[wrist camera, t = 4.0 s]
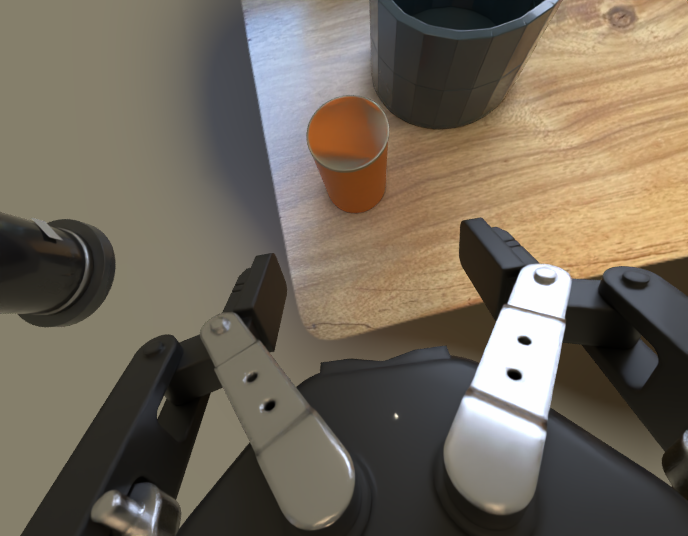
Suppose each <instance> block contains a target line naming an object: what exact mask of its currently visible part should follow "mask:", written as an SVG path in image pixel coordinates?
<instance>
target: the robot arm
mask: <svg viewBox="0 0 688 536" xmlns="http://www.w3.org/2000/svg"><path fill="white" fill-rule="evenodd" d="M32 219H33V220H34V221H35V222H34V221H31V220H27V219H24V218H20V217H17V216H13V215H9V214H5V213H2V212H0V314H2V313H3V314H6V313H7V314H9V313H10V314H11V313H12V314H34V315H53V314H57V313H60V312H63V311H65V310H67V309H68V308H70V307H71V306H73V305H74V304H75V303H76V302H77V301H78V300H79V299H80V298H81V297H82V295H83V294H84V293H85V291H86V289H87V287H88V285H89V283H90V280H91V277H92V273H93V255H92V251H91V249H90V246H89V244H88V243H87V241H86V240H85V239H84V238H83V237H82V236H80V235H79V234H77V233H75V232H73V231H69V230H66V229H62V228H55V227H52V226H49V225H48V224H47V223H46V222H45V221H41V220H38V219H35V218H32ZM459 258H460V262H461V265H462V267H463V269H464V271H465V272H466V274H467V276H468V277H469V279H470V280H471V282H472V284H473V285H474V287H475V289H476V290H477V292H478V293H479V295H480V297H481V298H482V300H483V302H484V303H485V305H486V306H487V308H488V310H489V311H490V313H491V314H492V316H493V318H494V319H495V321H497V322H496V324H495V327H494V329H493V332H492V334H491V337H490V339H489V342H488V344H487V346H486V349H485V351H484V354H483V357H482V359H481V361H480V363H478V362H476V361H473V360H470V359H467V358H463V357H458V356H451V355H450V354H449V352H448V349H447V346H440V347H432V348H425V349H417V350H413V351H410V352H408V353H405V354H402V355H399V356H397V357H394V358H391V359H389V360H386V361H373V360H361V359H344V360H337V361H329V362H323V363H321V367H320V373H318V374H316V375H314V376H312V377H310V378H308V379H306V380H305V381H303V382H302V383H301V384H300V385H298V386H297V387H295V386H294V384H293V383H292V382H291V380H290V379H289V378H288V376H287V375H286V374H285V372H284V371H283V370H282V368H281V367H280V366H279V365H278V363H277V362H276V361H275V359H274V358H273V357H272V355H271V354H270V353H269V352H274V350H275V346H276V341H277V336H278V332H279V328H280V323H281V318H282V314H283V309H284V304H285V300H286V296H287V286H286V281H285V279H284V276H283V273H282V271H281V268H280V266H279V263H278V261H277V258H276V256H275V254H274V253H270V254H264V255H259V256H256V257H255V259H254V262H253V264H252V266H251V268H248V269H246V270H245V271H244V272H243V273H242V274H241V275H240V276H239V277H238V280H237V282H236V284H235V286H234V288H233V290H232V293H231V295H230V297H229V299H228V301H227V304H226V306H225V308H224V310H223V312H222V313H221V314H218V315H216V316H214V317H212V318H211V319H210V320H208V321H207V322H206V323H205V324H204V325H203V327H202V328H201V330H200V335H197V336H195V337H192V338H190V339H187V340H184V341H182V342H180V343H179V342H178V341H177V339H176V338H175V337H174V336H173V335H161V336H158V337H156V338H154V339H152V340H150V341H148V342H147V343H146V344H144V345H143V346H142V347H141V348H140V349H139V350H138V351H137V352H136V354H135V355H134V357H133V359H132V360H131V362H130V363H129V365H128V366H127V368H126V370H125V371H124V373H123V374H122V376H121V377H120V379H119V381H118V382H117V384H116V385H115V387H114V388H113V390H112V392H111V393H110V395H109V396H108V398H107V399H106V401H105V403H104V404H103V406H102V407H101V409H100V411H99V412H98V414H97V415H96V417H95V418H94V420H93V422H92V423H91V425H90V426H89V428H88V430H87V431H86V433H85V434H84V436H83V438H82V439H81V441H80V442H79V444H78V445H77V447H76V449H75V450H74V452H73V454H72V455H71V456H70V458H69V460H68V461H67V463H66V464H65V466H64V467H63V469H62V471H61V472H60V474H59V475H58V477H57V479H56V480H55V482H54V483H53V485H52V486H51V488H50V490H49V491H48V493H47V494H46V496H45V498H44V499H43V501H42V502H41V504H40V505H39V507H38V509H37V510H36V512H35V513H34V515H33V517H32V518H31V520H30V521H29V523H28V524H27V526H26V528H25V529H24V531H23V533H22V534H21V535H20V536H688V296H686V295H685V294H683V293H682V292H680V291H679V290H678V289H676V288H675V287H674V286H672V285H671V284H670V283H668V282H667V281H665V280H664V279H663V278H661V277H660V276H658V275H656V274H654V273H652V272H650V271H647V270H644V269H640V268H635V267H627V266H619V267H613V268H609V269H607V270H606V271H605V272H604V274H603V276H602V279H601V280H586V279H572V278H571V276H570V275H569V274H568V273H567V272H566V271H565V270H563V269H561V268H559V267H556V266H553V265H549V264H540V263H539V262H538V261H537V260H536V259H535V258H534V257H533V256H532V255H531V254H530V253H529V252H528V251H527V250H526V249H525V248H524V247H523V246H521V245H520V244H519V243H518V242H517V241H516V240H515V239H514V238H513V237H512V236H511V235H510V234H509V233H508V232H507V231H505V230H502V229H500V228H498V227H492V228H491V227H490V226H489V225H488V224H487V222H486V221H485V220H484V219H483V218H475V219H469V220H463V221H462V222H461V224H460V242H459ZM641 335H642V336H643V337H644V338H645V339H646V340H648V342H649V343H650V344H651V345H652V346H653V347H654V348H655V350H656V352H657V354H658V356H657V355H656V354H655V353H654V352H653V351H652V350H651V349H650V348H649V347H648V346H647V345H646V344H645V343H644V342H643V341H642V340H641V339H640V337H641ZM562 342H563V343H572V344H581V345H582V346H583V347H584V348H585V350H586V351H587V352H588V353H589V355H590V356H591V357H592V359H593V360H594V361H595V363H596V364H597V365H598V366H599V368H600V369H601V370H602V371H603V373H604V374H605V375H606V377H607V378H608V379H609V381H610V382H611V383H612V384H613V386H614V387H615V388H616V389H617V391H618V392H619V393H620V395H621V396H622V397H623V398H624V400H625V401H626V402H627V404H628V405H629V406H630V408H631V409H632V410H633V411H634V413H635V414H636V415H637V416H638V418H639V419H640V420H641V422H642V423H643V424H644V425H645V427H646V428H647V429H648V431H649V432H650V433H651V434H652V436H653V437H654V438H655V440H656V441H657V442H658V443H659V445H660V446H661V447H662V448H663V450H664V451H665V453H664V454H663V457H662V466H663V470H664V472H665V475H666V476H667V478H668V480H669V481H670V483H671V485H672V487H671V486H669V485H668V484H667V483H665V482H664V481H662V480H661V479H659V478H658V477H656V476H655V475H654V474H652V473H651V472H649V471H648V470H646V469H645V468H643V467H641V466H640V465H638V464H637V463H635V462H634V461H632V460H630V459H629V458H628V457H626V456H624V455H623V454H621V453H620V452H618V451H617V450H615V449H614V448H612V447H611V446H609V445H607V444H606V443H604V442H602V441H601V440H600V439H598V438H596V437H595V436H593V435H592V434H590V433H589V432H587V431H586V430H584V429H583V428H581V427H580V426H578V425H577V424H575V423H573V422H572V421H570V420H569V419H567V418H566V417H564V416H563V415H561V414H559V413H558V412H556V411H555V410H553V409H552V408H550V402H551V397H552V392H553V387H554V381H555V376H556V371H557V366H558V360H559V356H560V350H561V345H562ZM220 388H223V389H224V391H225V393H226V394H227V397H228V399H229V401H230V403H231V405H232V407H233V409H234V411H235V413H236V415H237V417H238V419H239V421H240V423H241V425H242V427H243V429H244V431H245V433H246V435H247V437H248V439H249V441H250V443H249V444H248V445H247V446H246V447H245V449H244V450H243V451H242V452H241V454H240V455H239V456H238V457H237V458H236V460H235V461H234V462H233V463H232V465H231V466H230V467H229V468H228V469H227V471H226V472H225V473H224V474H223V475H222V477H221V478H220V479H219V480H218V482H217V483H216V484H215V485H214V486H213V488H212V489H211V490H210V491H209V492H208V494H207V495H206V496H205V497H204V499H203V500H202V501H201V502H200V504H199V505H198V506H197V507H196V508H195V509H194V511H193V512H192V513H191V514H190V516H189V517H188V518H187V519H186V521H185V522H184V523H183V525H182V526H181V527H180V529H179V526H180V521H181V508H180V505H179V503H178V502H177V501H176V498H177V495H178V492H179V489H180V486H181V483H182V480H183V477H184V474H185V470H186V468H187V464H188V462H189V458H190V455H191V452H192V449H193V446H194V443H195V440H196V437H197V434H198V431H199V428H200V424H201V421H202V418H203V415H204V412H205V409H206V406H207V403H208V400H209V396H210V393H211V392H213V391H216V390H218V389H220ZM163 396H165V397H166V398H167V399H166V401H165V403H164V406H163V408H162V410H161V412H160V415H159V417H158V419H157V410H158V407H159V405H160V403H161V401H162V398H163Z"/></svg>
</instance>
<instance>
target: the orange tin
mask: <svg viewBox="0 0 688 536" xmlns="http://www.w3.org/2000/svg"><path fill="white" fill-rule="evenodd" d="M388 139H389V124H388V120H387V117H386V115H385V113H384V111H383V110H382V109H381V108H380V107H379V106H378V105H377V104H376V103H375V102H373V101H372V100H370V99H368V98H365V97H362V96H356V95H346V96H340V97H337V98H334V99H332V100H330V101H328V102H326V103H325V104H323V105H322V106H321V107H320V108H319V109H318V110H317V111H316V112H315V113H314V115H313V116H312V118H311V120H310V122H309V124H308V128H307V144H308V148H309V150H310V152H311V154H312V156H313V158H314V160H315V163H316V165H317V168H318V170H319V173H320V175H321V177H322V180H323V182H324V185H325V187H326V190H327V192H328V195H329V197H330V199H331V201H332V202H333V203H334V204H335V205H336V206H337V207H338V208H340V209H341V210H343V211H346V212H350V213H360V212H365V211H367V210H369V209H371V208H373V207H374V206H375V205H377V204H378V203H379V201H380V200H381V199H382V197H383V195H384V192H385V188H386V170H387V150H388Z"/></svg>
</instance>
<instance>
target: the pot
mask: <svg viewBox="0 0 688 536" xmlns="http://www.w3.org/2000/svg"><path fill="white" fill-rule="evenodd" d="M562 1H563V0H369V4H370V37H371V70H372V79H373V83H374V87H375V89H376V92H377V94H378V96H379V98H380V99H381V101H382V102H383V103H384V105H385V106H386V107H387V108H388V109H389V110H390V111H391V112H392V113H393V114H395V115H396V116H398V117H399V118H401V119H402V120H404V121H406V122H408V123H411V124H414V125H417V126H421V127H425V128H432V129H447V128H455V127H460V126H464V125H467V124H470V123H473V122H475V121H477V120H479V119H481V118H483V117H484V116H486V115H487V114H489V113H490V112H491V111H493V110H494V109H495V108H496V107H497V106H498V105H499V104H500V103H501V102H502V101H503V100H504V98H505V97H506V95H507V94H508V92H509V91H510V89H511V88H512V87H513V85H514V84H515V82H516V80H517V78H518V77H519V75H520V73H521V72H522V70H523V68H524V66H525V65H526V63H527V61H528V59H529V58H530V56H531V54H532V53H533V51H534V49H535V47H536V46H537V44H538V42H539V40H540V39H541V37H542V35H543V33H544V32H545V30H546V28H547V27H548V25H549V23H550V21H551V20H552V18H553V16H554V14H555V13H556V11H557V9H558V8H559V6H560V4H561V2H562Z"/></svg>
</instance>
